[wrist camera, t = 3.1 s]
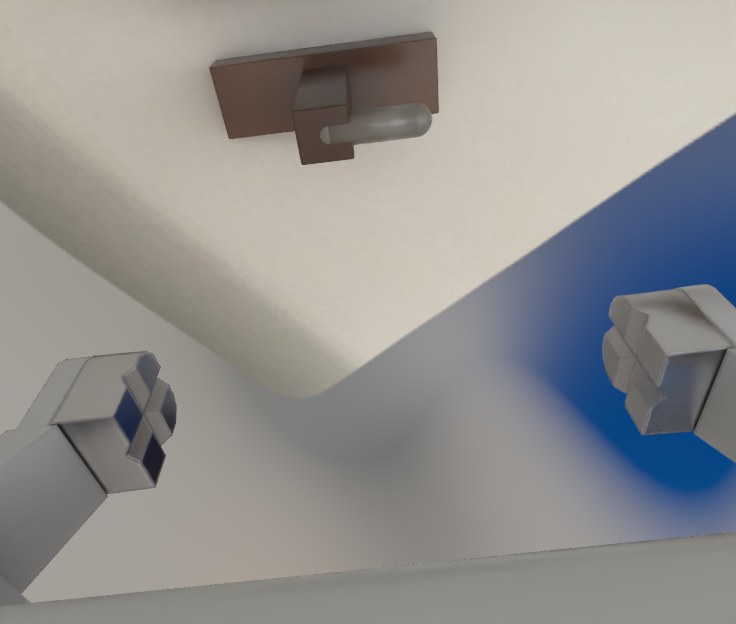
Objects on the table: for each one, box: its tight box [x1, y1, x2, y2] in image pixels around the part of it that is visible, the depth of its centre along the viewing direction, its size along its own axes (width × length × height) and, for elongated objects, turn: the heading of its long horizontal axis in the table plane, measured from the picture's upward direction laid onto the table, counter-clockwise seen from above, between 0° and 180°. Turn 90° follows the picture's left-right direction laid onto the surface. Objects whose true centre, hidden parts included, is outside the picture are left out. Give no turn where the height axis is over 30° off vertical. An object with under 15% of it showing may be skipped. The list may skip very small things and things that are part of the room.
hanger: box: [210, 32, 439, 165], centre depth 22 cm, size 10×3×8 cm, turn 97°
